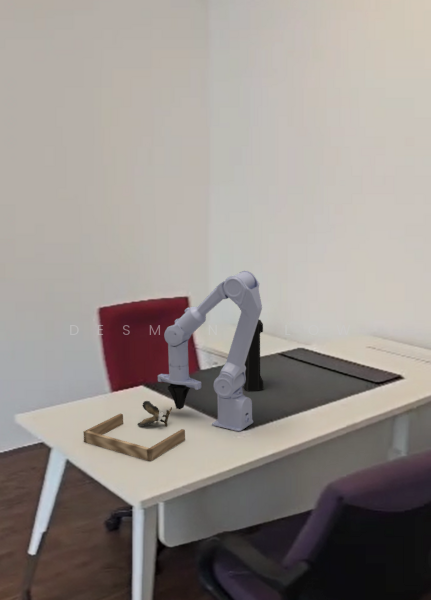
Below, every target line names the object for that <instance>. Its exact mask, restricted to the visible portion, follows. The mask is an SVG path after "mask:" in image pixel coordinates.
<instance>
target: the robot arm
mask: <svg viewBox="0 0 431 600" xmlns="http://www.w3.org/2000/svg"><path fill="white" fill-rule="evenodd" d="M259 288H260V282H259V281H258V279H257V277H256V276H255V275H254V274H253V273H252V272H250V271H249V270H242V271H240V272H239V273H237V274H233V275H230V276H228V277H227V278H226V279H225V280H223V281H222V282H220V283H219V284H218V285H217V286H215V288H214V289H213V290H212V291H211V292H210V293H209V294H208V295H207V296H206V297H205V298H204V299H203V300H202V301H201V303H200V304H198V305H197V306H191V307H189V306H188V307H187V308H185V309H184V313H183V314H182V315H181V317H179V318H176V319H175V320H174V324H172V325H170V326H167V327H166V329H165V331H164V335H163V336H164V340H165V342H166V343H167V349H168V350H167V351H168V353H167V354H168V373H160V374H158V375H157V382H160V383H162V382H164V383H166V384H167V383H168V384H169V385H168V386H167V390H168V391H169V393H170V395H171V397H172V399H173V401H174V404H175V409H176V410H181V409H183V408H184V407H185V403H186V399H187V396H188V393H189V392H190V390H191V389H194V390H196V391H197V390H200V389H201V388H202V381H199V380H196V379H195V378H193V377H190V374H189V373H190V372H189V340H190V339H191V337H192V335H193V334H194V333H195V332H196V331H197V330H198V329H199V328H200V327H201V326H202V325H203V324H205V322H206V320H207V314H208V313H209V312H210V311H211V310H213V309H214V308H215V307H216V306H217V305H218V304H219V303H221V302H222V301H223V300H227V299H230V301H232V302H234V304H235V305H237V307H238V308H239V310H240V315H239V318H238V321H237V325H236V328H235V331H234V335H233V338H232V342H231V345H230V349H229V352H228V355H227V358H226V361H225V364H224V365H223V367H222V368H221V369H220V372H219V375H218V376H217V377H216V378H214V381H213V390H214V392H215V394H216V395H217V419H216V420H215V421H213V422H212V423H211V426H213V427H214V426H215V427H218V428H219V427H220V428H223V429H227V430H232V431H236V432H241V431H243V430H244V429H245V428H247V427H248V426H251V425H252V424H253V423H254V420H253V401H252V399H251V398H250V397H248V396H246V395H244V394H243V393H244V392H243V387H244V384H245V381H246V377H245V370H246V366H245V361H246V358H247V355H248V352H249V349H250V345H251V342H252V339H253V336H254V333H255V329H256V326H257V323H258V320H260V316H261V313H262V310H263V304H262V299H261V293H260V289H259Z"/></svg>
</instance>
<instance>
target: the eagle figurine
mask: <svg viewBox="0 0 431 600" xmlns="http://www.w3.org/2000/svg"><path fill="white" fill-rule="evenodd" d="M141 406H142V408H143V410H145V411H146V412H147V413H149V414H150V415H152V416H150V417H145V418H144V419H143V420H142V421H139V422H138V423H137V426H138V427H143V426H146V425H152V424H154V423H155V422H157V423H159V422H161V423H163V424H164V426H165V427H167V426H168V420H169V417H170V415H171V412H172V408H173V407H170V409H169V410H168V409H166V411H165V414H164V411H163V410H162V411H160V409H159V408H158V406H157V405H153V403H152V402H151V401H150V400H144V401H143V403H142V405H141ZM163 418H164V419H163Z"/></svg>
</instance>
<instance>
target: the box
mask: <svg viewBox="0 0 431 600" xmlns="http://www.w3.org/2000/svg"><path fill="white" fill-rule="evenodd" d="M123 425H124V414H122V413H118V414H117V415H115V416H112V417H110V418H108V419H106V420H104V421H102V422H100V423H98V424H96V425H94V426H91V427H90V428H88V429H85V430H84V431H83V442H84V443H87V444H89V445H92V446H93V445H94V446H95V447H100V448H103V449H107V450H111V451H114V452H116V453H121V454H125V455H127V456H130V457H133V458H134V457H135V458H138V459H141V460H145V461H147V462H152V461H154V460H156V459H157V458H159V457H160V456H162V455H163V454H165V453H167V452H169V451H170V450H172V449H174V448H175V447H177V446H178V445H180V444H181V443H183V442H185V441H186V429H184V428H181V429H179V430H178V431H176V432H175V433H172V434H171V435H169V436H168V437H165V438H164V439H163V440H161V441H159V442H158V443H156V444H154V445H152V446H151V447H147V446H144V445H140V444H136V443H133V442H130V441H125V440H123V439H119V438H116V437H111V436H108V435H105V434H107V433H109V432H110V431H112V430H114V429H116V428H119V427H120V426H123Z"/></svg>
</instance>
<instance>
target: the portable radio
mask: <svg viewBox="0 0 431 600" xmlns="http://www.w3.org/2000/svg"><path fill="white" fill-rule="evenodd" d="M263 332H264V323H263V322H262V320H261V319H259V320H258V323H257V326H256V329H255V333H254V336H253V339H252V342H251V345H250V349H249V352H248V355H247V358H246V361H245V366H246V370H245V377H246V381H245V384H244V385H243V388H244V390H246V392H256V391H257V392H258V391H263V390H264V381H263V378H262V376H261V333H263Z"/></svg>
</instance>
